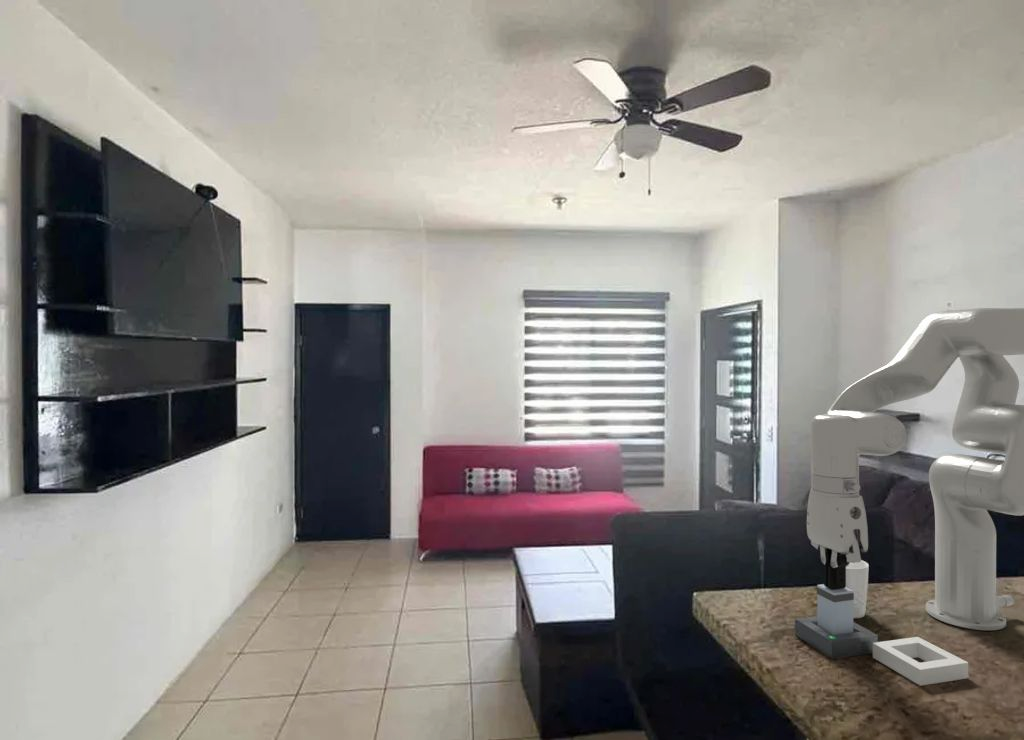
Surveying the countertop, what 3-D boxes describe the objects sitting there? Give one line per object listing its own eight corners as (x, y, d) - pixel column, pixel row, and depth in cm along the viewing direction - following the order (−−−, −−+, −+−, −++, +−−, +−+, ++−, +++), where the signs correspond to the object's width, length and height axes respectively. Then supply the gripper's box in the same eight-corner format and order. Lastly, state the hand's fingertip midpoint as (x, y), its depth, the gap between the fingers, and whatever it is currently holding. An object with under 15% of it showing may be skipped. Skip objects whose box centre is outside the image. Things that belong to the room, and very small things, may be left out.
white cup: (866, 607, 124) (866, 558, 124) (870, 622, 117) (870, 571, 117) (822, 601, 127) (822, 553, 127) (824, 616, 120) (824, 565, 120)
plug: (835, 636, 111) (835, 582, 111) (853, 647, 107) (853, 590, 107) (817, 639, 110) (816, 584, 110) (834, 650, 106) (834, 593, 106)
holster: (917, 651, 105) (917, 636, 105) (968, 678, 96) (968, 662, 96) (872, 657, 103) (872, 642, 103) (920, 685, 94) (920, 669, 94)
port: (837, 629, 114) (837, 612, 114) (877, 652, 105) (877, 633, 105) (795, 634, 112) (795, 617, 112) (831, 658, 103) (831, 640, 103)
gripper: (887, 492, 102) (887, 601, 102) (822, 475, 116) (822, 571, 116) (848, 494, 100) (848, 605, 100) (788, 477, 114) (788, 574, 115)
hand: (834, 586), depth 108 cm, fingers closed
